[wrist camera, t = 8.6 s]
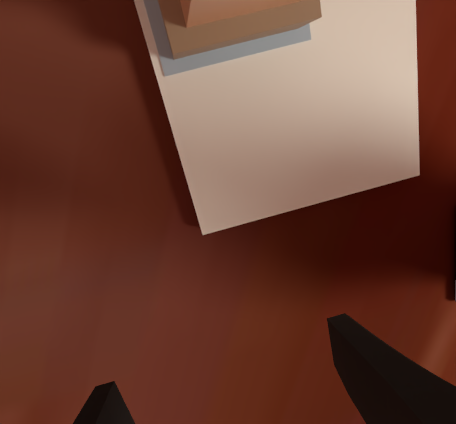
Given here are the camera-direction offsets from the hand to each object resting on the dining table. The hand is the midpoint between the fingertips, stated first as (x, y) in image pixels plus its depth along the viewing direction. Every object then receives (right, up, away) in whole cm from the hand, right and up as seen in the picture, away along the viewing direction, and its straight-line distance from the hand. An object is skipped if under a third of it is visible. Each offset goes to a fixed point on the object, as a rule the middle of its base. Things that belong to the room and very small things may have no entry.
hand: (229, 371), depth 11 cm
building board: (+3, +13, +6) cm, 15 cm away
